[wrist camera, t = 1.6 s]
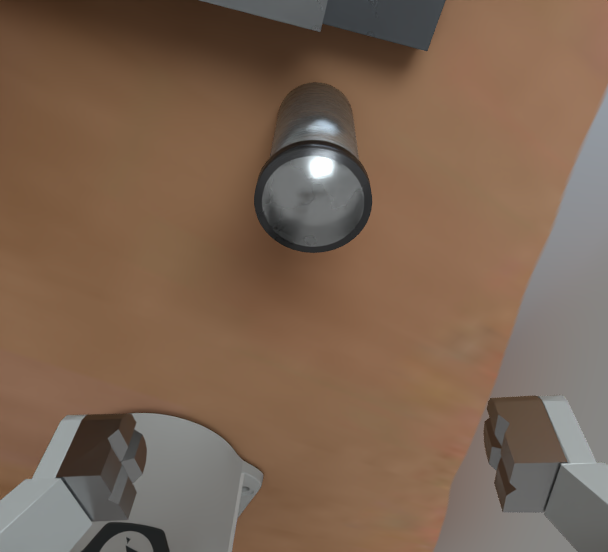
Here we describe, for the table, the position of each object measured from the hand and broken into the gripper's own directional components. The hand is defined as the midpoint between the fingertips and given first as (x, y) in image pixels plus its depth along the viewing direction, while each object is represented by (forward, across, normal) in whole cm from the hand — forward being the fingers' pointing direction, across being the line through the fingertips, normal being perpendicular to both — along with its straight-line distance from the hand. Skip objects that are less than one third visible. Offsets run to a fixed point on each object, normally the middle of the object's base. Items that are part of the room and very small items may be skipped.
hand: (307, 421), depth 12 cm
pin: (+19, 0, 0) cm, 19 cm away
